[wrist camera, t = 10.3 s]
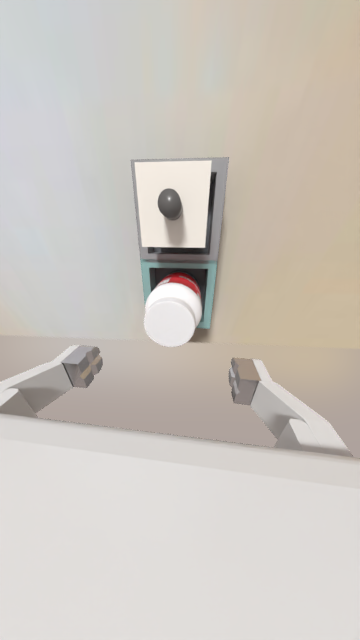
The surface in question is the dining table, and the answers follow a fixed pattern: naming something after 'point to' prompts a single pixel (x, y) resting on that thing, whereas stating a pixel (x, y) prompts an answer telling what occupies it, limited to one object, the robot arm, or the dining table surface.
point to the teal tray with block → (180, 221)
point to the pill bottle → (173, 310)
